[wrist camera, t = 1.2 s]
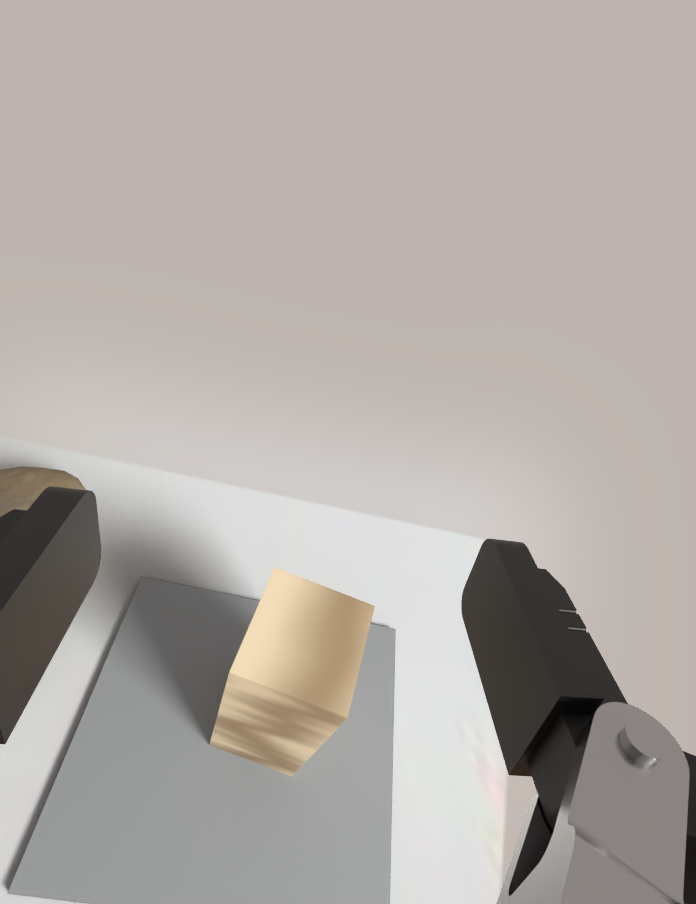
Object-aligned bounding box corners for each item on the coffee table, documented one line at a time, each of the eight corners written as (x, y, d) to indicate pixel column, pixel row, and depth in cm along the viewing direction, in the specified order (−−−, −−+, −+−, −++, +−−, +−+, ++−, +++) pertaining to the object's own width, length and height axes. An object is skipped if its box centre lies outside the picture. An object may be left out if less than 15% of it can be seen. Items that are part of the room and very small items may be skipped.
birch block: (209, 744, 28) (229, 672, 19) (244, 660, 31) (274, 567, 23) (291, 776, 28) (347, 717, 20) (317, 688, 32) (374, 606, 23)
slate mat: (9, 893, 23) (7, 893, 22) (141, 579, 34) (141, 576, 33) (385, 939, 25) (389, 939, 25) (393, 631, 36) (395, 628, 36)
